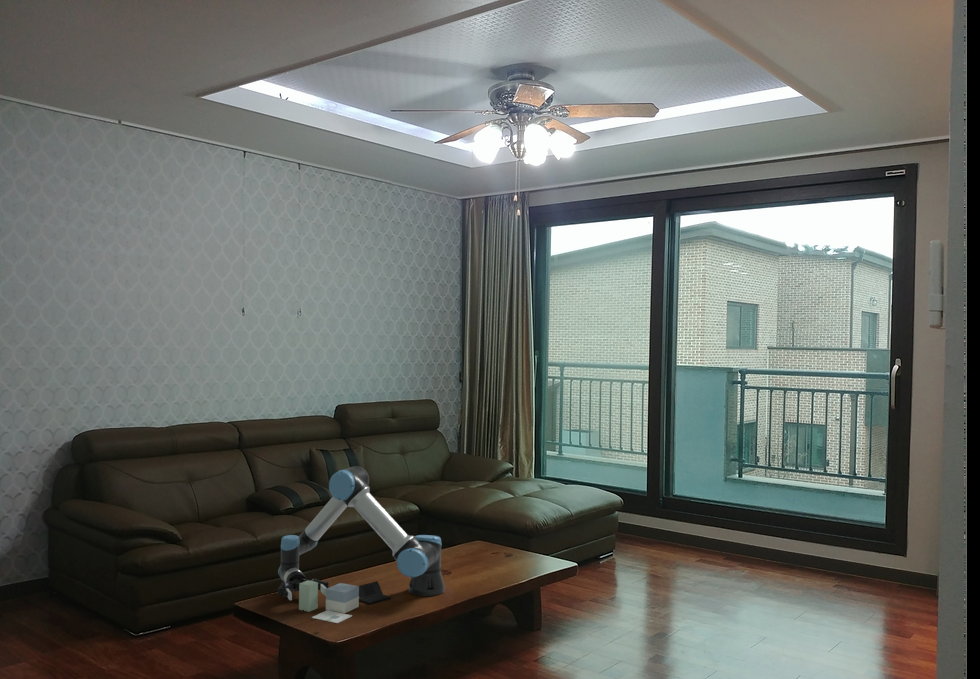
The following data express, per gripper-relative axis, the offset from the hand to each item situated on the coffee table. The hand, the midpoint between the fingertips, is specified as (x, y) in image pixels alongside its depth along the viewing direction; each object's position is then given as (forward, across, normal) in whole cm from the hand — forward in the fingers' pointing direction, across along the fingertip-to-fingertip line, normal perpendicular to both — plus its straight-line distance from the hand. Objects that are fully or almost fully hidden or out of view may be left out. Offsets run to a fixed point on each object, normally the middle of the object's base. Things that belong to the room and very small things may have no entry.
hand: (308, 594), depth 301 cm
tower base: (+4, -12, -6) cm, 14 cm away
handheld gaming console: (-2, -27, -6) cm, 28 cm away
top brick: (-1, 0, -6) cm, 6 cm away
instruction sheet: (+12, -6, -6) cm, 15 cm away
